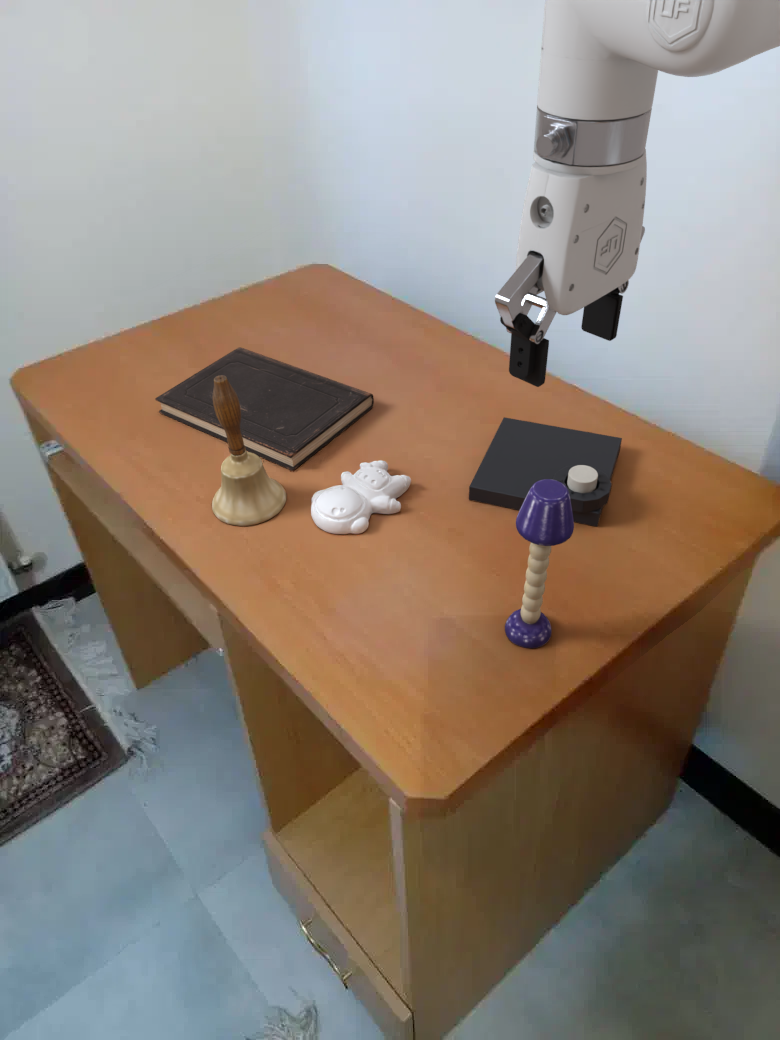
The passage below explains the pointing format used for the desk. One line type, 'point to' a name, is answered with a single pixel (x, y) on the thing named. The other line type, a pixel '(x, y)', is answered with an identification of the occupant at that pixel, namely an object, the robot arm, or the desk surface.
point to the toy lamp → (539, 557)
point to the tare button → (582, 479)
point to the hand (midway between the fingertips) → (563, 356)
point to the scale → (544, 465)
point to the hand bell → (241, 470)
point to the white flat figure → (358, 498)
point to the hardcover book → (270, 406)
